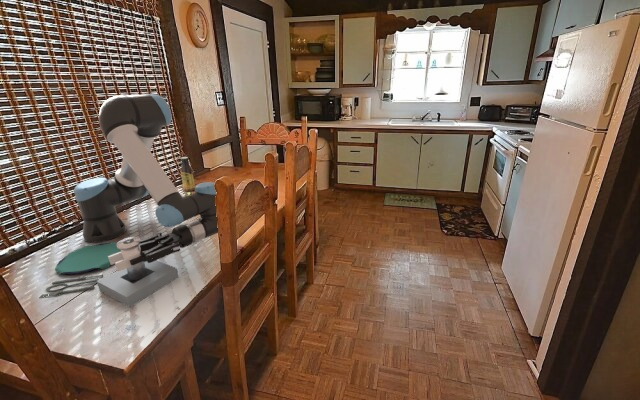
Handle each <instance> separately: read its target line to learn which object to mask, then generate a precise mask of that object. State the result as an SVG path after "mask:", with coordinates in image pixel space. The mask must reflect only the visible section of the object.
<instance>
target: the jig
mask: <svg viewBox="0 0 640 400" xmlns="http://www.w3.org/2000/svg"><path fill="white" fill-rule="evenodd" d="M144 263H145V266H146V270H147V275H146V276H145V277H143V278H141V279H138V280H130V279H129V276H128V273H127V270H126V269H124V270H121V271H119V272H118V270H116V271H114V272H112V273H110V274H107V275H105V276H103V277H102V278H100V279H99V280H98V281H97V282H96V284H97V287H98V290H99V291H100V292H101V293H104V294H105V295H108V297H110V298H112V299H115V301H118V302H120V303H121V304H123V305H125V306H127V307H129V308H132V307H133V306H135V305H136V304H138V303H140V302H141V301H142V300H145V299H146V298H147V297H149V296H150V295H151V296H152V295H153V294H154V293H155V292H157V291H159V290H160V289H162V288H164V287H165V286H167V285H169V284H170V283H172V282H173V281H175V280H176V279H178V278H179V273H178V269H177V267H175V266H172V265H169V264H167V263H164V262H162V261H160V260H159V259H158V260H156V261H153V262H151V263H148V261H146V262H144Z"/></svg>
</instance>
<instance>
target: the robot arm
mask: <svg viewBox="0 0 640 400" xmlns="http://www.w3.org/2000/svg"><path fill="white" fill-rule="evenodd" d="M172 119H173V118H172V111H171V108H170V106H169V104H168V101H166V100H165V99H164V97H162V96H161V95H159V94H152V93H151V94H150V93H147V94H131V95H115V96H112V97H110V98H109V97H108V99H106V100H105V101H104V102H103V104H102V105H101V107H100V109H99V112H98V123H99V127H100V130H101V132H102V134H103V136H104V137H105V139H106V141H108V142H109V143H111V144H114V146H115V147H116V148H117V150H118V151H119V152H120V154H121V156H123V157H122V161H121V166H120V168H118V169H117V170H116V171H115V174H114V177H113V178H109V179H107V178H106V177H96V178H90V179H88V180H84V181H82V182H80V183H78V184H76V186H75V187H74V189H73V192H74V195H75V201H76V202H77V205H78V208H79V212H80V215H81V217H82V220H83V227H82V237H83V240H84V241H85V242H87V243H102V242H106V241H110V240H112V239H113V240H114V239H116V238H118V237H120V236H121V235H123V234H125V233H126V232H127V227H126V224H125V222H124V221H123V219H122V218H121V217H120V215H118V213H117V209H116V207H119V206H121V205H124V204H127V203H130V202H134V201H136V200H141V199H142V198H144V197H146V196H148V195H150V196H151V197H152V199H153V200H154V202H155V203H156V205H157V207H156V209H155V212H154V213H155V217H156V218H157V222H158V223H159V224H160V225H161V226H163V227H164V228H171V227H172V231H171V232H170V233H166V234H162V232H158V233H156V234H154V235H152V236H149V237H146V238H143V239H140V240H141V243H140V248H141V255H140V253H138V254H136V255H133V256H131V257H128V258H126V259H123V256H122V253H121V252H118V253H116V254H113V255H110V256H108V258H109V261H110V264H111V265H114V264H115V267H116V269H117V270H116V271H118V272H119V271H121V270H124V269H126V268H128V267H131V266H133V265H135V264H138V263H140V262H146V261H148V263H151V262H153V261H156V260H158V261H159V260H160V259H163V258H165V257H166V256H167V257H168V256H169V255H171V254H174V253H178V252H180V251H181V249H183V248H186V247H189V246H191V245H192V244H195V243H199V242H200V241H202V240H204V239H206V238H209V237H212V236H215V235H216V234H219V233H218V228H217V217H216V206H215V196H216V191H215V187H214V185H215V184H216V183H215V182H211V181H209V182H208V181H206V182H200V183H198V184H196V185H194V186H195V187H194V188H195V189H194V193H192V194H190V195H188V196H185V197H182V196H181V193H180V192H179V190H178V189H177V188H176V186H175V184H174V183H173V182H172V180H171V178H169V176H168V175H167V173H166V172H165V171H164V169H163V168H162V166H161V165H160V164H159V162H158V161H157V159H156V157H154V155H153V154H152V152H151V150H152V147H153V143H154V140H155V138H157V137H159V136H160V134H161V131H162V128H163V127H167V126H169V125H170V124H172V123H171V122H172ZM197 216H200V217H199V218H196V217H197ZM193 218H196V219H194V220H191V221H189V220H190V219H193ZM186 221H188V222H186ZM184 222H186V223H184ZM183 223H184V224H183ZM175 226H176V227H175ZM111 265H110V266H111Z"/></svg>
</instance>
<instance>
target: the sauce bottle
mask: <svg viewBox="0 0 640 400" xmlns="http://www.w3.org/2000/svg"><path fill="white" fill-rule="evenodd" d="M180 161H181V170H180V175H181V181H182V187H183V190H184V192H192V191H195V186H196V185H195V180H194V173H193V169H192V167H191V166H190V163H189V161H190V159H189V157H188V156H182V157H180Z"/></svg>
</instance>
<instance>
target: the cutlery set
mask: <svg viewBox="0 0 640 400" xmlns="http://www.w3.org/2000/svg"><path fill="white" fill-rule="evenodd" d="M117 243H118V242H103V243H102V242H100V243H96V244H92V245H86V246H82V247H80V248H77V249H75V250H73V251H71V252H69V253H68V254H67V255H66V256H64V257H62V259H60V260H59V261H58V263H57V264H56V266H55V268H54V271H55V272H57V273H58V274H59V275H63V274H64V275H65V274H67V275H72V274H73V275H75V274H82V273H87V272H91V271H94V270H97V269H102V270H106V269H108V268H109V267H110V266H111V264H110V261H109V258H108V256H110V255H113V254H116V253H118V252H121V250H119V249H118V248H117V245H116V244H117ZM97 277H98V278H97ZM99 277H102V278H104V274H99V275H92V276H85V275H84V276H81V277H80V276H78V277H77V278H68V279H67V278H66V279H63V280H56V281H53V282H52V283H51V286H48V287H46V288H45V291H48V292H49V293H44V294H41V295H40V297H38V298H39V299H43V298H44V297H45V298H47V297H46V296H48V294H49V296H54V297H58V296H60V295H63V294H69V293H70V294H71V293H77V292H82V291H87V290H90V291H91V290H94V289H95V285H90V286H84V287H81V288H76V289H69V290H64V289H65V288H68V287H69V288H70V287H73V286H74V287H75V286H80V285H85V284H93V283H97V281H98V280H100V279H99ZM91 278H96V279H91ZM86 279H91V280H87V281H86ZM83 280H85V281H83ZM74 281H75V282H76V281H81V282H77V283H72V284H67V283H68V282H74ZM66 282H67V283H66ZM52 284H53V285H52ZM56 287H61V288H58V289H54V288H56ZM59 294H60V295H59ZM57 295H58V296H57ZM43 296H44V297H43Z"/></svg>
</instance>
